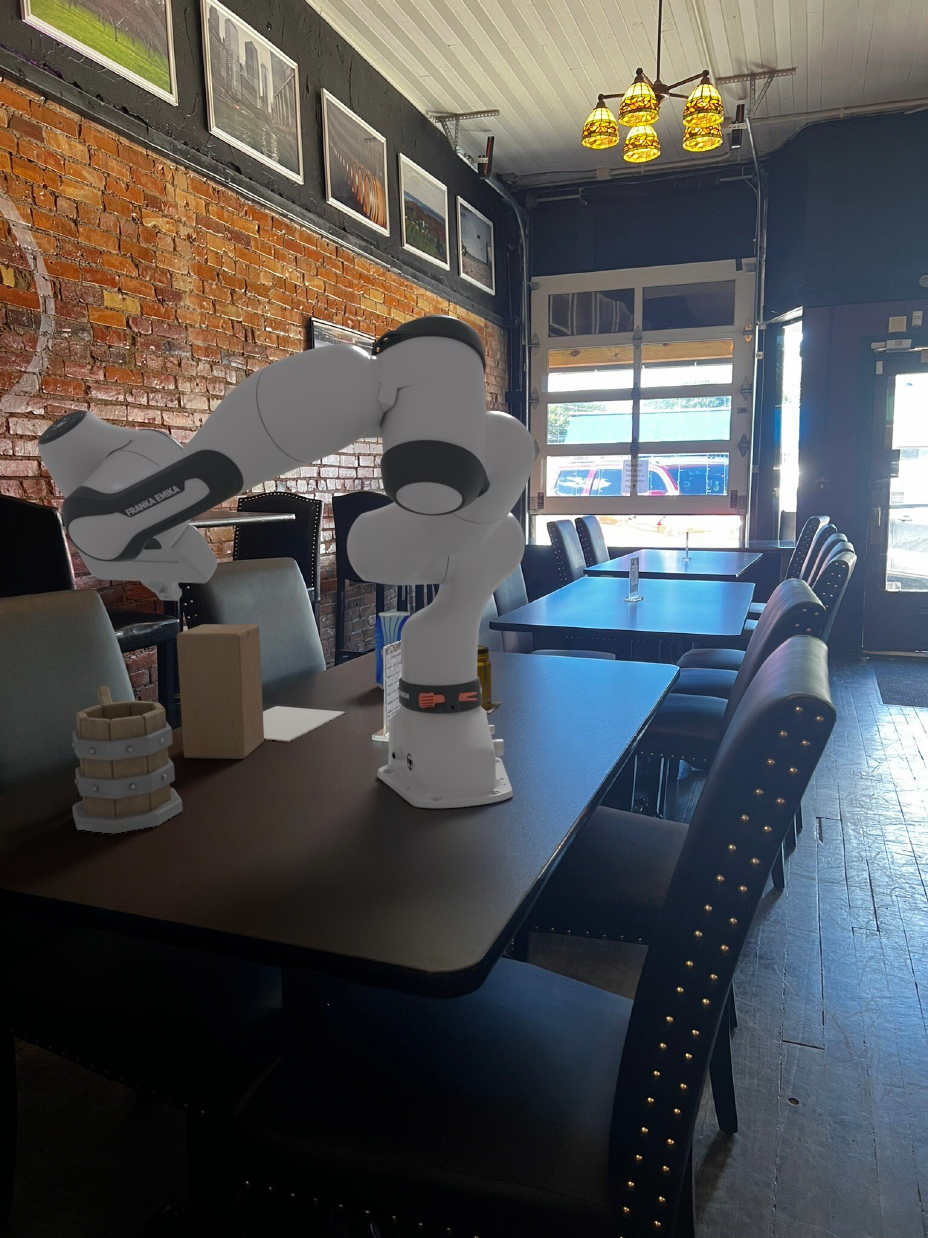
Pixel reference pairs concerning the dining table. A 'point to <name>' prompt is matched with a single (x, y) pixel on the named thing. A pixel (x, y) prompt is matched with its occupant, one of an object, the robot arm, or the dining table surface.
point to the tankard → (123, 766)
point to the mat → (293, 722)
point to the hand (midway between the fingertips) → (172, 597)
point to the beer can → (387, 636)
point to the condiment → (485, 678)
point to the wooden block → (220, 690)
